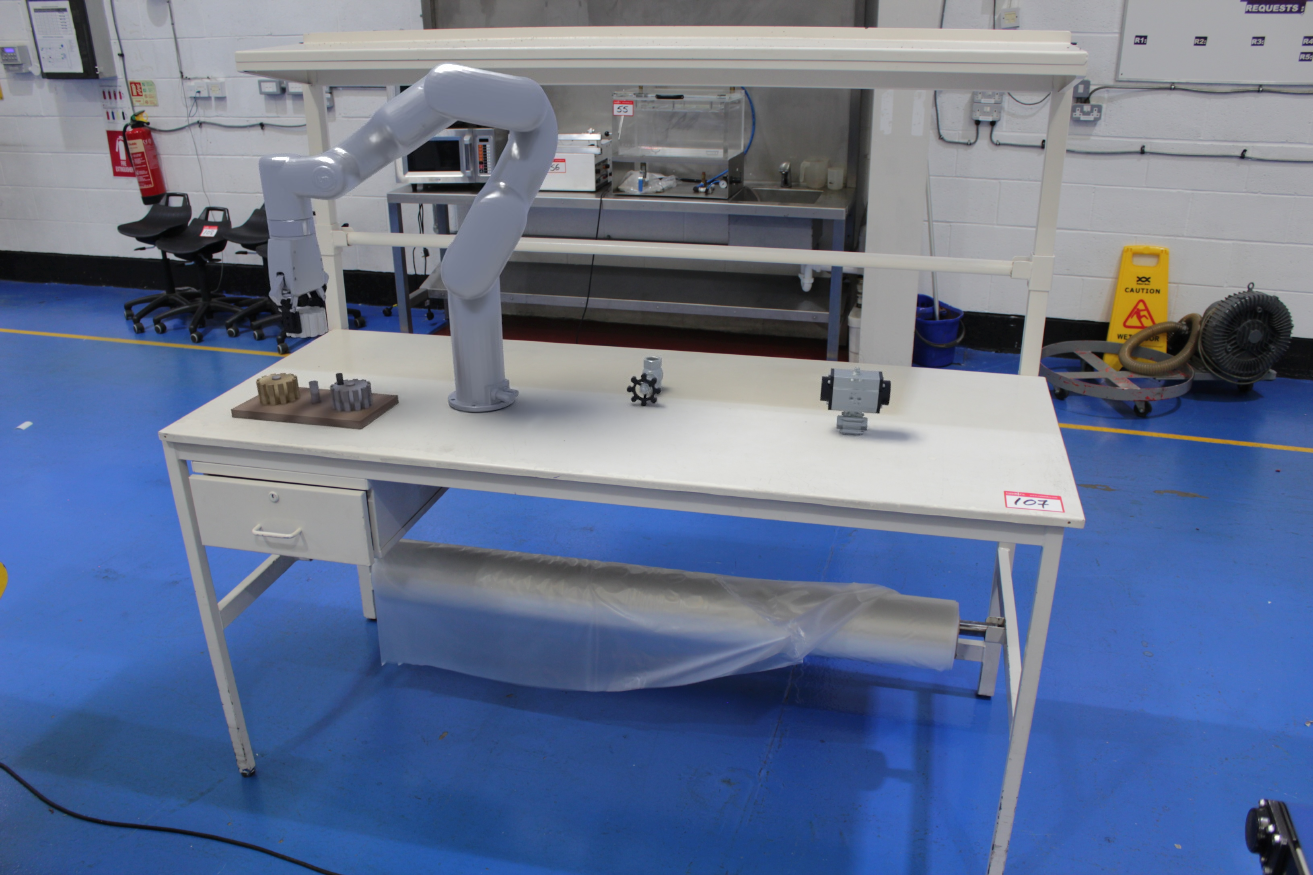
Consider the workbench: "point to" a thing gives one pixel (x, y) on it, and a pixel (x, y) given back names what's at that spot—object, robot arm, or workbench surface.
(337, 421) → the gear board
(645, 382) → the valve
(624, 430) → the workbench surface
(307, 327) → the gear
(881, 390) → the pneumatic valve
